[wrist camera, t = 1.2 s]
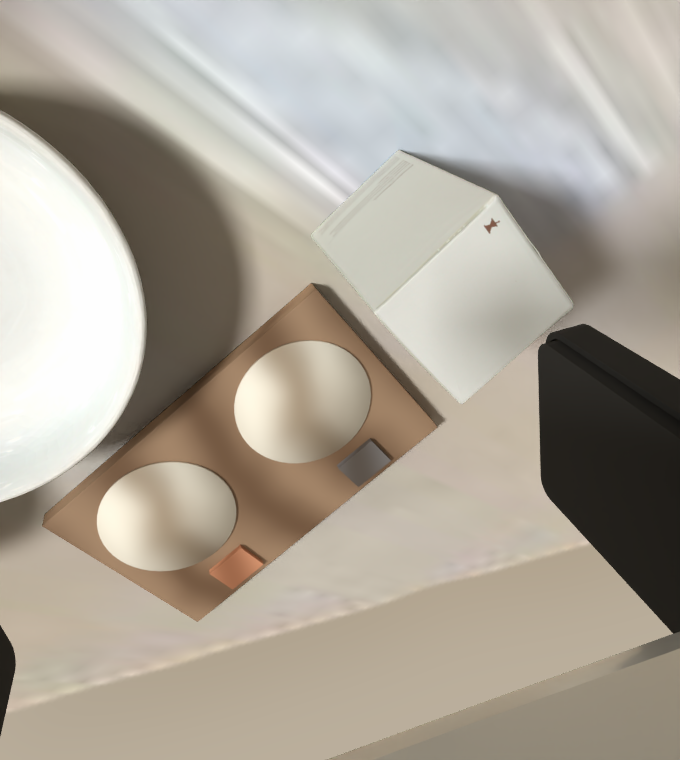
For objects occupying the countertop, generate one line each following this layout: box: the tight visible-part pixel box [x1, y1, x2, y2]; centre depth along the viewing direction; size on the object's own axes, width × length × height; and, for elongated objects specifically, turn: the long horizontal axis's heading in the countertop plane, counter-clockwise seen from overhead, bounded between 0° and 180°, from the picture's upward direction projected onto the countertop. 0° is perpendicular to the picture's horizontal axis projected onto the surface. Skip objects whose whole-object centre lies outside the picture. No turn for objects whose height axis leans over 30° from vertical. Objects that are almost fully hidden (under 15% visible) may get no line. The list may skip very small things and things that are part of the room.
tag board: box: [42, 283, 437, 622], centre depth 44 cm, size 23×14×2 cm, turn 128°
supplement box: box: [311, 150, 574, 404], centre depth 34 cm, size 7×7×13 cm
